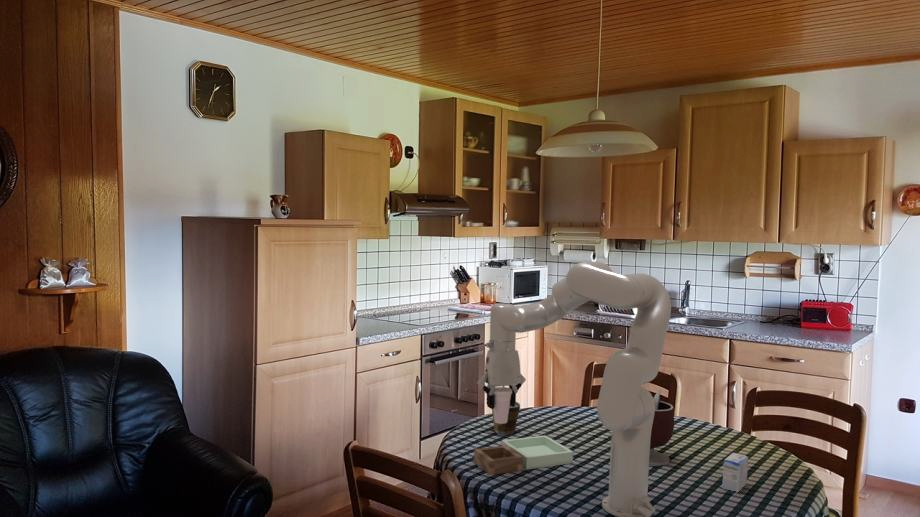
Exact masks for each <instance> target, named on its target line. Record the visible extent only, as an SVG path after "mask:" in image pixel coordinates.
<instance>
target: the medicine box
mask: <svg viewBox="0 0 920 517" xmlns="http://www.w3.org/2000/svg"><path fill="white" fill-rule="evenodd" d="M748 468H749V456H747V455H744V454H740V453H736V452H732V453H731V454H729V456H727V457H726V458H725V459H723V470H722V471H723V472H722V485H721V487H722V488H723V489H727V490H731V491H736V492H739V491H740V490H741V489H742V487H743V486H744V485H745V484H746V485H747V480H748ZM723 489H722V490H723ZM742 490H743V489H742ZM742 490H741V491H742ZM741 491H740V492H741ZM740 492H739V493H740Z"/></svg>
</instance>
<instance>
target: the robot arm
mask: <svg viewBox="0 0 920 517" xmlns="http://www.w3.org/2000/svg"><path fill="white" fill-rule="evenodd" d="M589 301H591V302H595V303H597V304H600V305H603V306H606V307H608V308H612V309H616V310H622V311H623V310H624V311H627V310H632V309H637V311H636V314H635V317H634V319H633V321H632V323H631V327H630V332H629V338H628V340H627V344H626V347H625V348H622V349H619V350H617V351H615V352H614V353H612V354H611V355H610V357H609V358H608V360H607V362H606V365H605V366H604V371H603V376H602V380H601V384H600V390H599V395H598V399H597V404H596V405H597V406H596V411H597V412H596V413H597V416H598V420H599V421H600V423H601V424H602V425H603V427H604V428H606V430H609V431H612V432H611V438H610V440H611V441H610V442H611V443H610V460H609V479H608V480H609V481H608V482H609V483H608V495H607V496H605V497H603V499H602V500H601V507H602V508H603V509H604V510H605V511H606V512H607V513H608V514H610V515H613V516H614V517H651V516H652V515H653V514H654V513H655V512H656V508H655V507H654V506H653V505H652V504H651V502H650V499H651V498H650V496H648V492H649V491H648V490H649V489H648V488H649V474H650V473H649V470H650V469H649V468H650V465H649V453H650V438H651V429H652V424H653V419H654V413H655V403H654V399H653V398H654V397H653V395H652V393H651V392H650V390H648V389H647V388H645V387H643V386H642V385H645V384H649V383H651V381H653V380H654V379H656V377H657V376H658V373H659V370H660V367H661V366H660V365H661V360H662V356H663V353H664V352H663V351H664V348H665V343H666V335H667V332H668V327H669V324H670V320H671V313H672V302H671V297H670V293H669V291H668V290H667V288H666V287H665V285H664V284H663V283H662V282H661V281H660V280H659V279H657V278H656V277H655V276H653V275H650V274H647V273H629V274H620V273H616V272H613V270H612V268H611V267H610V266H609V265H608V264H606V263H604V262H601V261H584V262H583V261H581V262H578V263H576V264H574V265H572V266H571V267H570V268H569V269H568V271H567V274H566V276H565V277H564V278H562V279H560V280H559V281H556V282H555V283H554V284H553V285H552V288H551V294H550V295H549V296H547V297H545V298H544V299H542V300H540V301H538V302H536V303H534V304H532V303H531V304H523V305H517V306H516V305H514V304H511V303H503V302H502V303H501V302H500V303H495V304H492V305H491V307H490V314H489V315H490V316H489V317H490V318H489V321H490V322H489V341H488V342H485V347H486V348H488V349H489V350H488V349H487V353H486V357H485V363H484V370H483V375H481V377H480V378H479V379H478V380H477V382H476V384H477V385H478V386H479V387H480V388H481V389H482V390H483V392H484V393H485V394H486V405H487V406H486V407H487V408H489V409H490V410H492V409H494V398H495V396H494V395H493V392H494V390H495V387H503V386H504V387H508V388H511V389H512V394H511V399H510V406H512V407H515V403H516V402H517V394H518V391H519V390H520V388H521V387H522V385H523V384H525V382H526V381H527V380H526V378H525V376H524V375H523V374H522V373H521V363H520V362H521V360H520V354H519V351H518V350H517V349H516V335H517V333H518V334H520V333H521V334H523V333H527V332H533V331H539V330H542V329H545V328H546V327H549V326H550V325H552V324H554V323H556V322H558V321H560V320H562V319H563V318H565V316H567V315H568V314H570V312H571V311H573V310H576V309H577V308H578V307H580V306H582V305H584V304H585V303H587V302H589ZM485 383H486V384H487V385H486V384H485Z"/></svg>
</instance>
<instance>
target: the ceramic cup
mask: <svg viewBox="0 0 920 517" xmlns="http://www.w3.org/2000/svg"><path fill="white" fill-rule="evenodd" d="M520 409H521V403H520V402H518V401H516V403H515V407H512V406H509V413H508V419H507V423H505V424H499V423H495V421H494V411H493V409H491V413H492V421H493V427H494V428H493V429H494V432H495V433H496V434H498V435H502V436H510V435H513V434H515V432H516V427H517V422H518V418H519V415H520Z"/></svg>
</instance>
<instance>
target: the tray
mask: <svg viewBox="0 0 920 517" xmlns="http://www.w3.org/2000/svg"><path fill="white" fill-rule="evenodd" d="M505 445H506V446H507V447H509V448H510V449H512V450H513V451H515V452H516V453H517V454H519V455H520V456H522V457H523V463H522V468H524V469H525V470H532V469H541V468H548V467H555V466H560V465H561V466H562V465H569V464H573V463H574V451H573V450H572V449H569V448H568V447H566V446H564V445H563V444H561V443H559V442H557V441H556V440H554V439H552V438H551V437H549V436H547V435H538V436H537V435H536V436H530V437H529V436H527V437H521V438H520V437H519V438H512V439H503V440H501V446H505Z"/></svg>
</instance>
